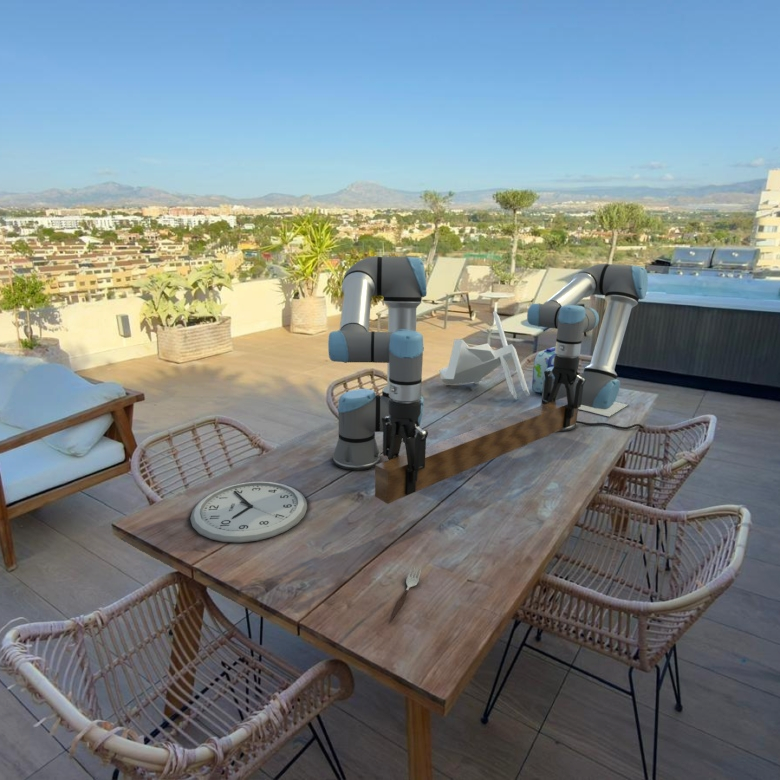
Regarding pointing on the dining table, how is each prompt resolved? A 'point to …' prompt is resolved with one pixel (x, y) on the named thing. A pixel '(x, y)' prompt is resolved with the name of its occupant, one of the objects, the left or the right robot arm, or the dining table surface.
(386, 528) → the dining table surface
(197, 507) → the wall clock
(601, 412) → the invitation card
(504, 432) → the beam
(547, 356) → the lunch box
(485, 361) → the white plastic object
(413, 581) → the fork
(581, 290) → the right robot arm
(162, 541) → the dining table surface
